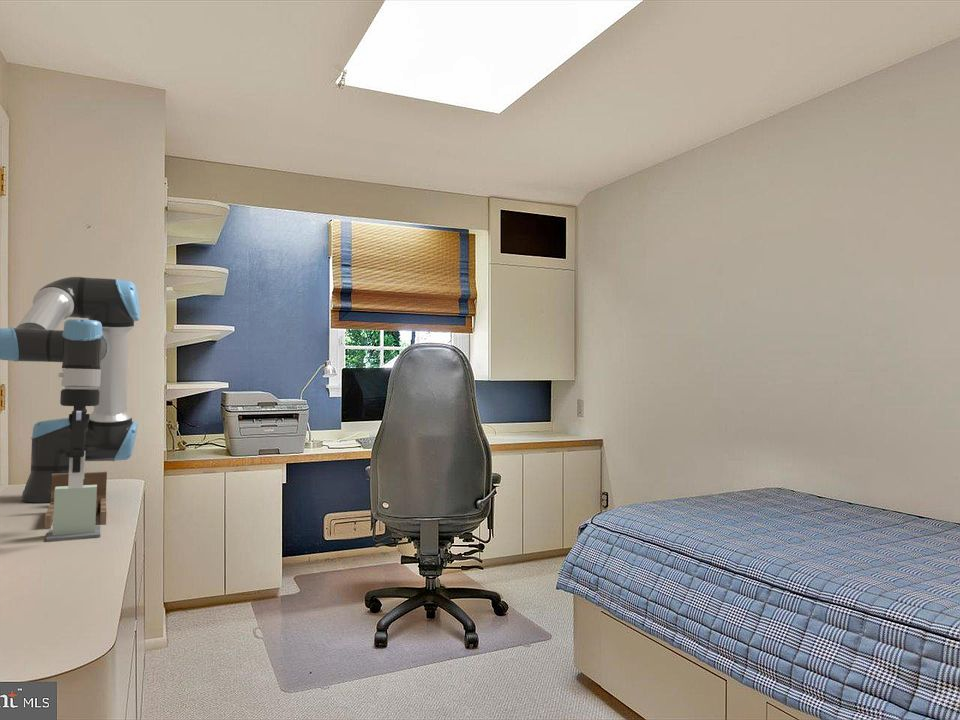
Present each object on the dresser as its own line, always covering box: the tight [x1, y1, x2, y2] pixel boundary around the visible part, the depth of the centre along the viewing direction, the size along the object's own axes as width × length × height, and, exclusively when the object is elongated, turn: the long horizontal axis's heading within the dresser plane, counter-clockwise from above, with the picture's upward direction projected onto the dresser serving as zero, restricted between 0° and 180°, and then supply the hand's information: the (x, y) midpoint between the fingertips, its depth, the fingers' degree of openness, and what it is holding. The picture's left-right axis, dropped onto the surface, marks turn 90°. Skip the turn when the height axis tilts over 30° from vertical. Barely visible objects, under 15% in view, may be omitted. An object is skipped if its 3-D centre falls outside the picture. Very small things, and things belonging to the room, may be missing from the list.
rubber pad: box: [45, 525, 101, 542], centre depth 148 cm, size 10×10×1 cm
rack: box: [44, 471, 108, 530], centre depth 167 cm, size 22×12×10 cm, turn 30°
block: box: [52, 485, 97, 535], centre depth 149 cm, size 4×8×10 cm, turn 120°
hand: (76, 483), depth 149 cm, fingers open, 13 cm apart
